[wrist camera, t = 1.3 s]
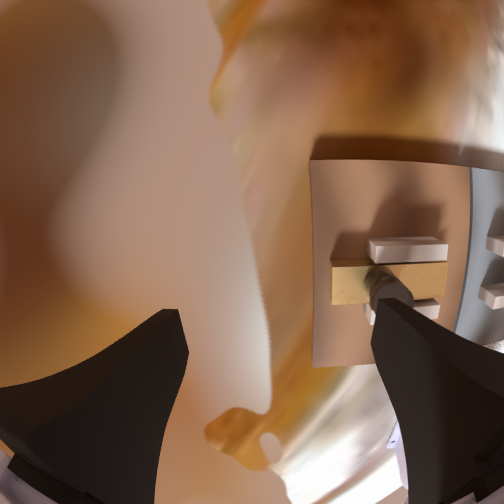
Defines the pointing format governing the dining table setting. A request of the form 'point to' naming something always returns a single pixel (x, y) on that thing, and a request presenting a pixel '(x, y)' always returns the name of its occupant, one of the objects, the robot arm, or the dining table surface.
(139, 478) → the robot arm
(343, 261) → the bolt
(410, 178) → the two-tone tabbed panel
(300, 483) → the dining table surface
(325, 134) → the dining table surface
